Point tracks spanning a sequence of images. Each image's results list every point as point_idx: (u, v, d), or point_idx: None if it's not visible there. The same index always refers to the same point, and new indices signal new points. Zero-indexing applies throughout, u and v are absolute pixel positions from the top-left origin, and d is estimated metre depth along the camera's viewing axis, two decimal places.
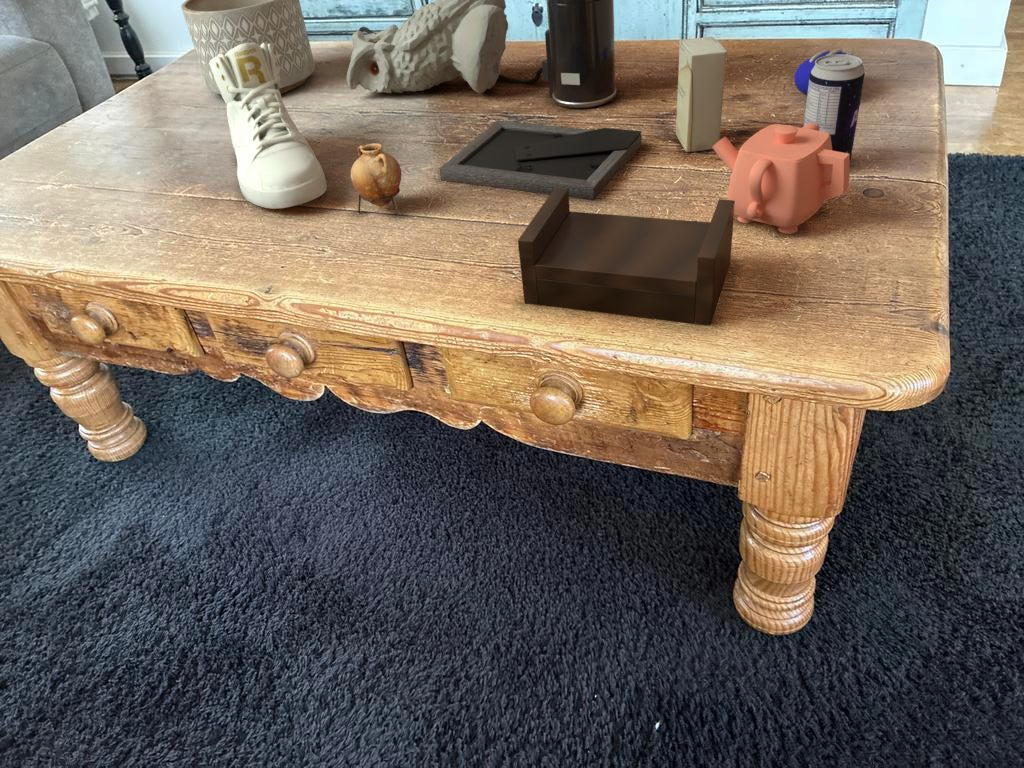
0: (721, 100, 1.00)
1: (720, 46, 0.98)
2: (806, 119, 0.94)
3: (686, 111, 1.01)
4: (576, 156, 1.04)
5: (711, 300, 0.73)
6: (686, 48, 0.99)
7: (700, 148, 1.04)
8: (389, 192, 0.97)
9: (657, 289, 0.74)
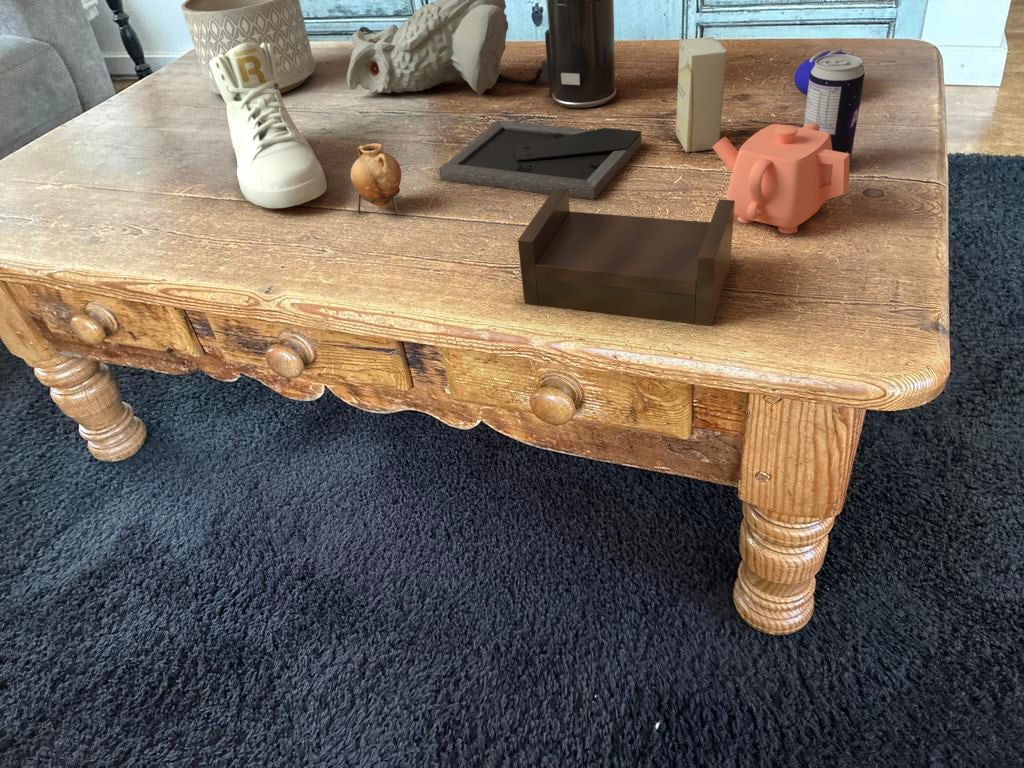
0: (721, 100, 1.00)
1: (720, 46, 0.98)
2: (806, 119, 0.94)
3: (686, 111, 1.01)
4: (576, 156, 1.04)
5: (711, 300, 0.73)
6: (686, 48, 0.99)
7: (700, 148, 1.04)
8: (389, 191, 0.97)
9: (657, 289, 0.74)
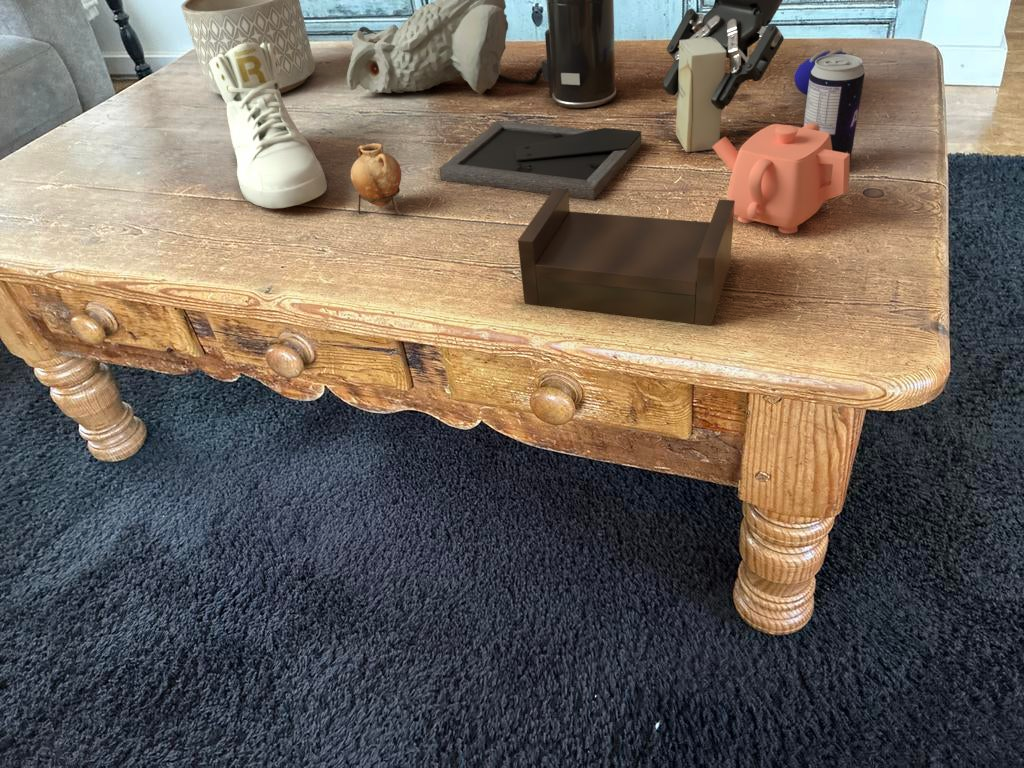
0: None
1: (720, 46, 0.98)
2: (806, 119, 0.94)
3: (686, 111, 1.01)
4: (576, 156, 1.04)
5: (711, 300, 0.73)
6: (686, 48, 0.99)
7: (700, 148, 1.04)
8: (389, 192, 0.97)
9: (657, 289, 0.74)
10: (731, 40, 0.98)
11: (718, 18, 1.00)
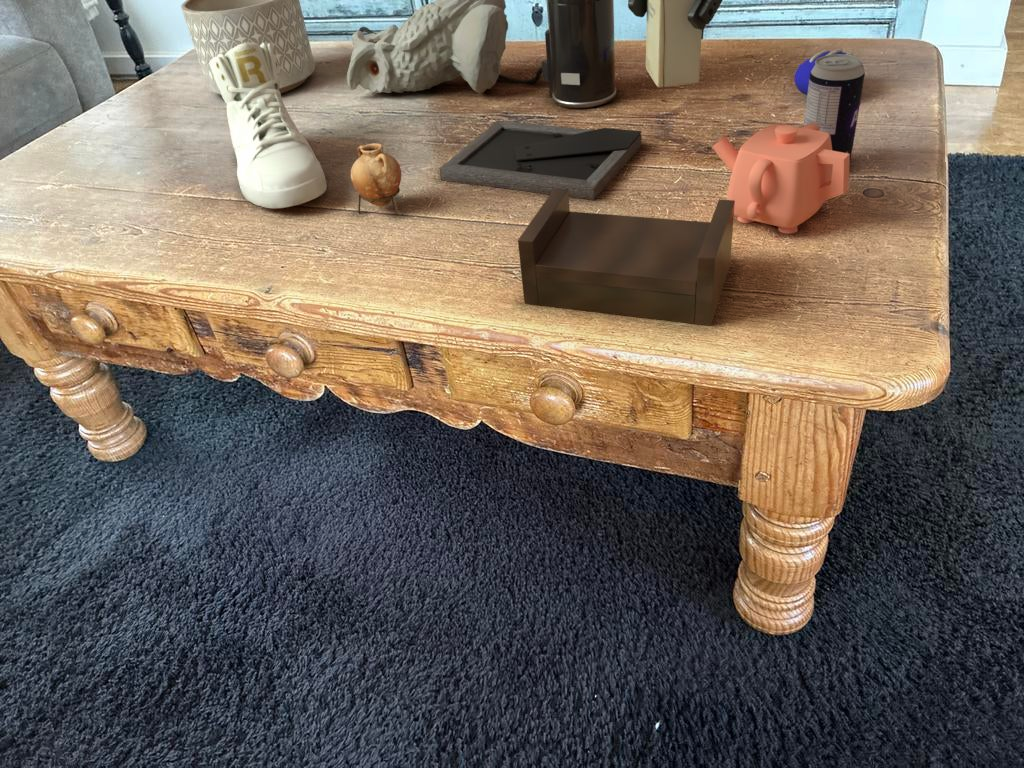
0: None
1: None
2: (806, 119, 0.94)
3: (656, 34, 0.80)
4: (576, 156, 1.04)
5: (711, 300, 0.73)
6: None
7: (675, 82, 0.82)
8: (389, 191, 0.97)
9: (657, 289, 0.74)
10: None
11: None
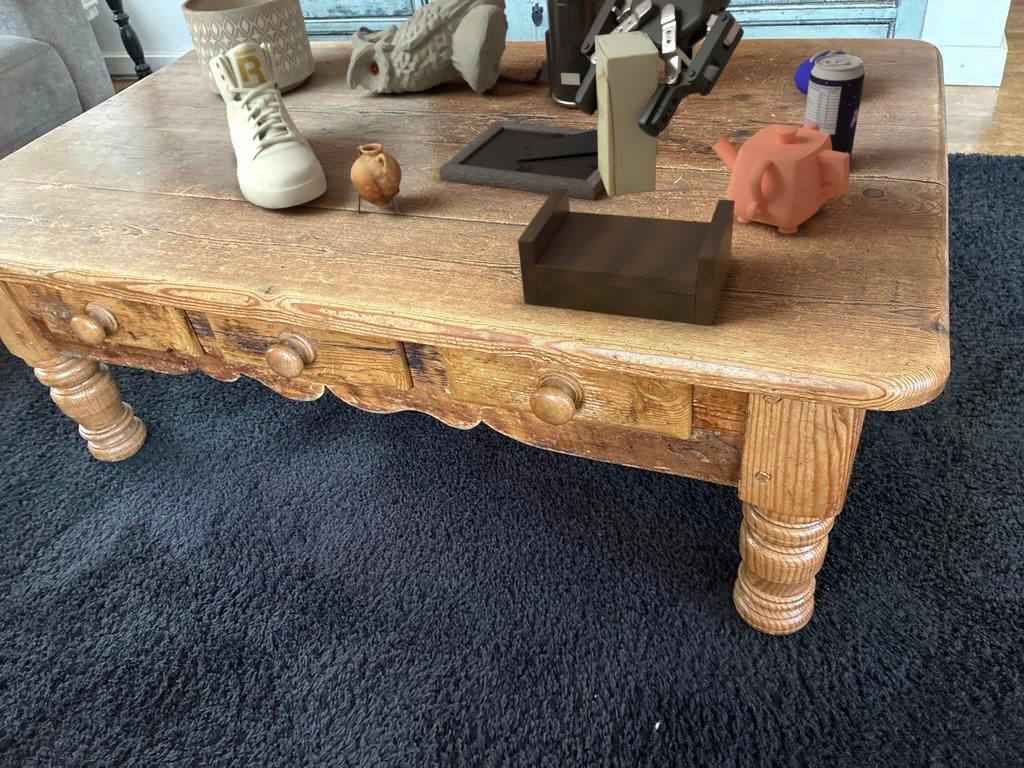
0: None
1: (651, 44, 0.66)
2: (806, 119, 0.94)
3: (605, 139, 0.70)
4: (576, 156, 1.04)
5: (711, 300, 0.73)
6: (602, 47, 0.67)
7: (628, 190, 0.72)
8: (389, 191, 0.97)
9: (657, 289, 0.74)
10: (667, 35, 0.67)
11: (650, 3, 0.68)
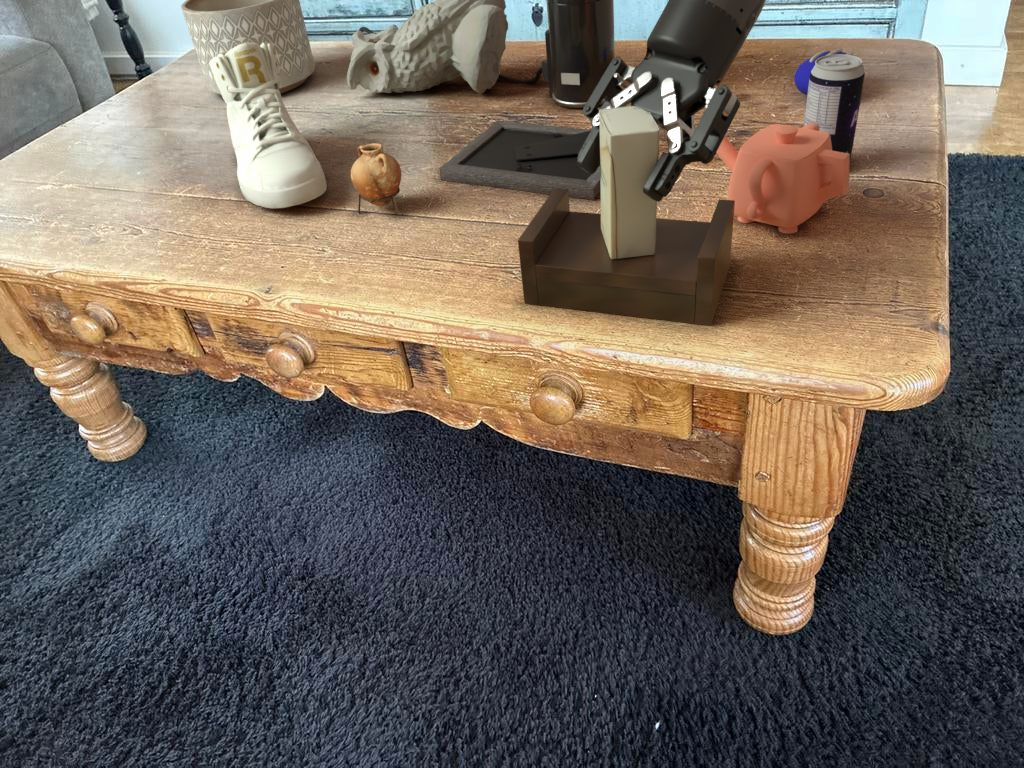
0: None
1: (652, 121, 0.70)
2: (806, 119, 0.94)
3: (608, 206, 0.74)
4: (576, 156, 1.04)
5: (711, 300, 0.73)
6: (605, 123, 0.71)
7: (629, 254, 0.76)
8: (389, 191, 0.97)
9: (657, 289, 0.74)
10: (668, 107, 0.70)
11: (650, 75, 0.72)
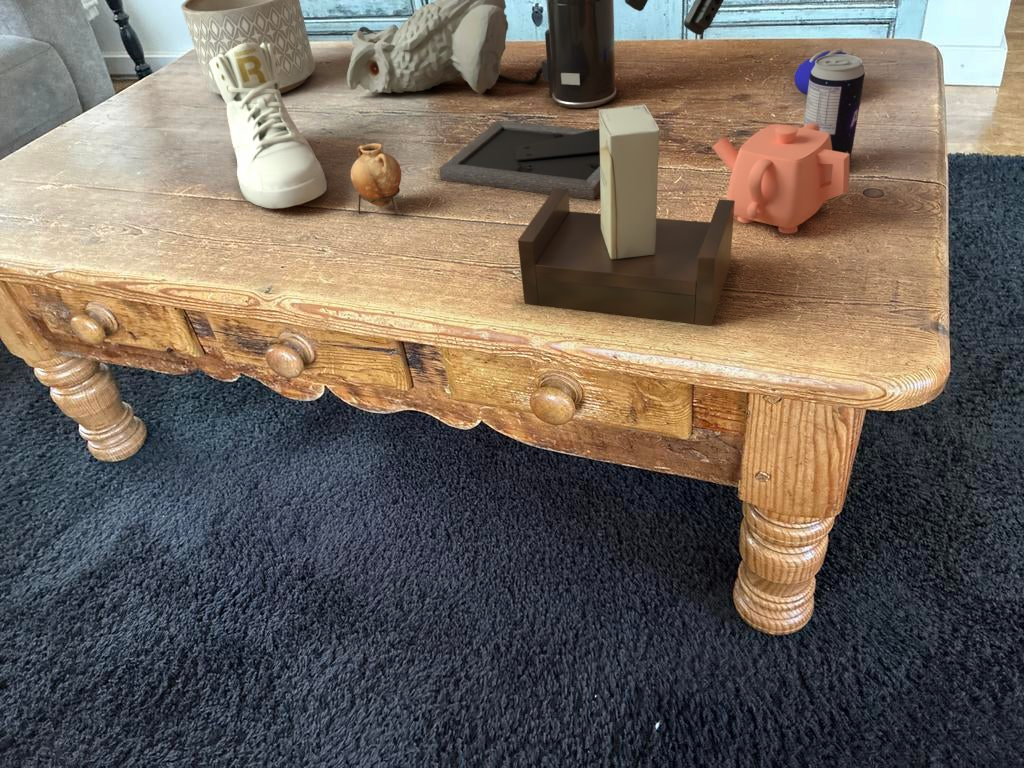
0: (655, 193, 0.72)
1: (652, 121, 0.70)
2: (806, 119, 0.94)
3: (608, 206, 0.74)
4: (576, 156, 1.04)
5: (711, 300, 0.73)
6: (605, 123, 0.71)
7: (629, 254, 0.76)
8: (389, 191, 0.97)
9: (657, 289, 0.74)
10: None
11: None
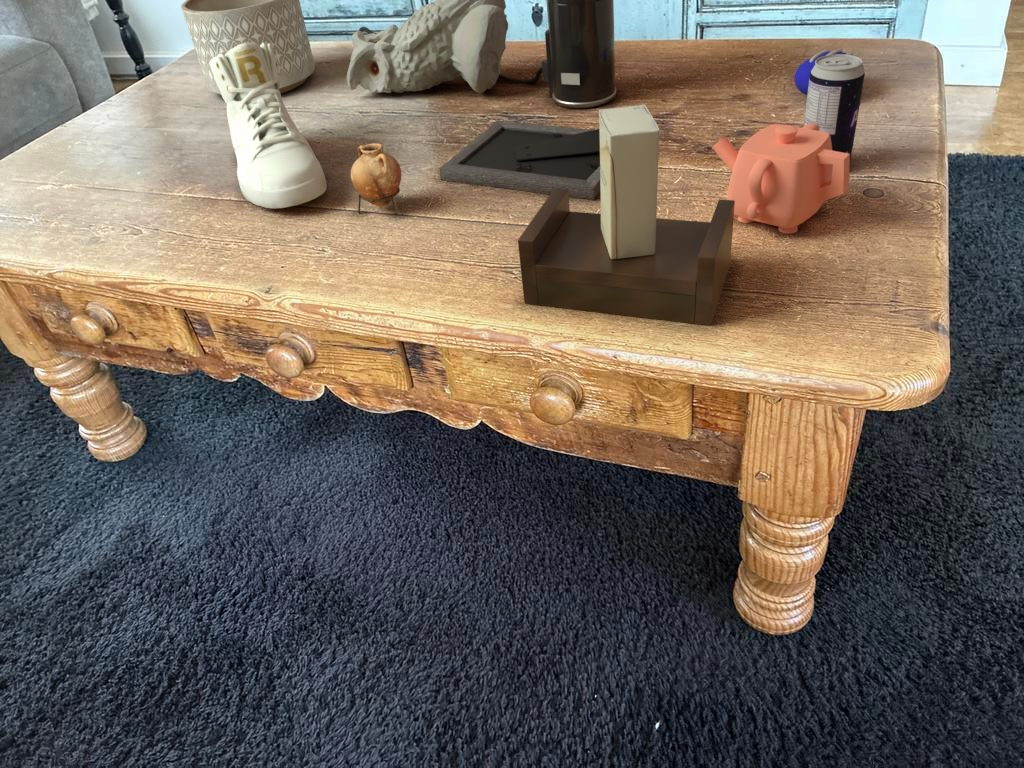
0: (655, 193, 0.72)
1: (652, 121, 0.70)
2: (806, 119, 0.94)
3: (608, 206, 0.74)
4: (576, 156, 1.04)
5: (711, 300, 0.73)
6: (605, 123, 0.71)
7: (629, 254, 0.76)
8: (389, 191, 0.97)
9: (657, 289, 0.74)
10: None
11: None
